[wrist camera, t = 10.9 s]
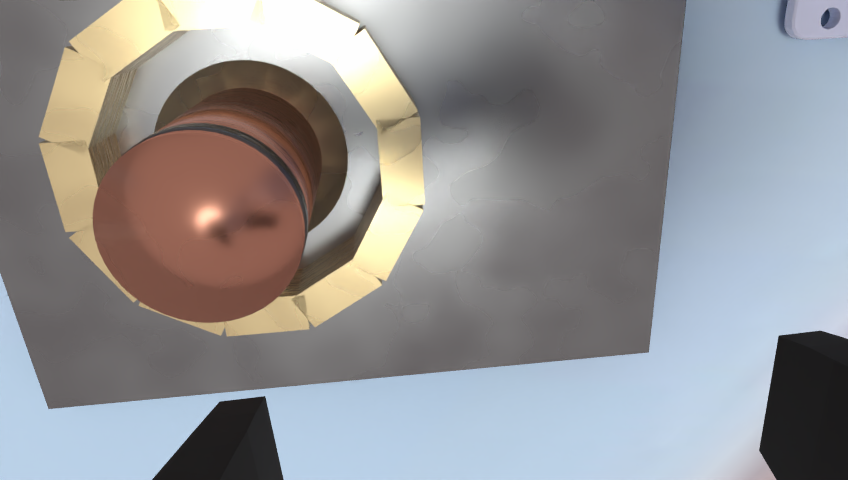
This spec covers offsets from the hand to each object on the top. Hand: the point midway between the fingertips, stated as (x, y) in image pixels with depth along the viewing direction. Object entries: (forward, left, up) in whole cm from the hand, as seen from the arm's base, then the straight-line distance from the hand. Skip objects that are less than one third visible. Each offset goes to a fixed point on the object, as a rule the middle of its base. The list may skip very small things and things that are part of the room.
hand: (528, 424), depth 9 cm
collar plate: (+3, -2, -9) cm, 10 cm away
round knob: (+5, -2, -8) cm, 10 cm away
